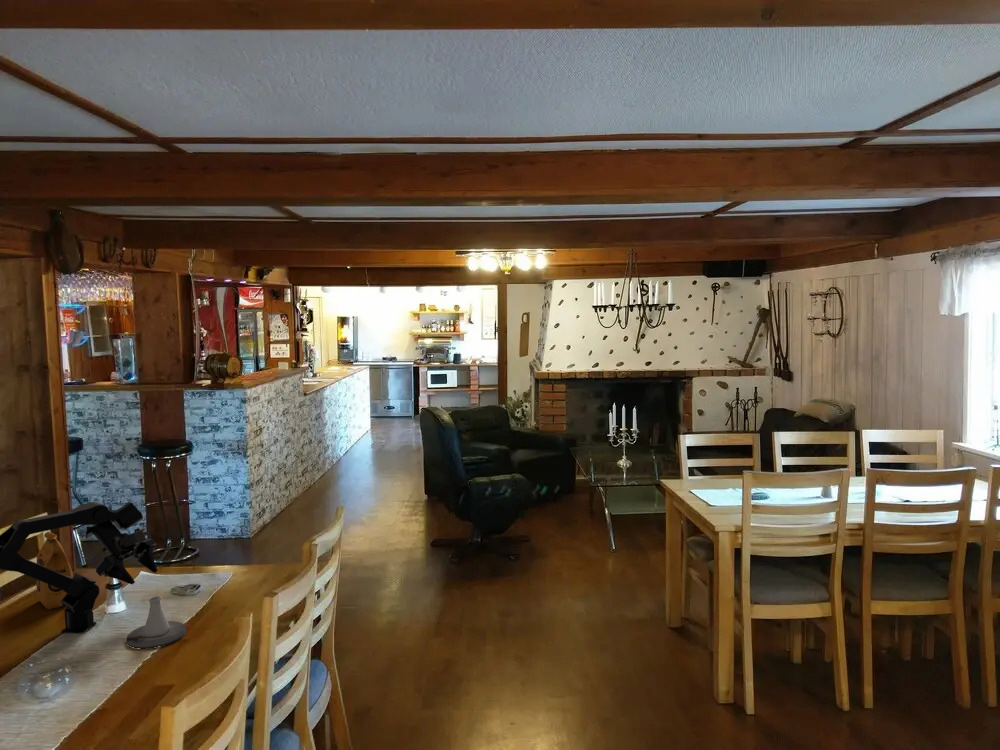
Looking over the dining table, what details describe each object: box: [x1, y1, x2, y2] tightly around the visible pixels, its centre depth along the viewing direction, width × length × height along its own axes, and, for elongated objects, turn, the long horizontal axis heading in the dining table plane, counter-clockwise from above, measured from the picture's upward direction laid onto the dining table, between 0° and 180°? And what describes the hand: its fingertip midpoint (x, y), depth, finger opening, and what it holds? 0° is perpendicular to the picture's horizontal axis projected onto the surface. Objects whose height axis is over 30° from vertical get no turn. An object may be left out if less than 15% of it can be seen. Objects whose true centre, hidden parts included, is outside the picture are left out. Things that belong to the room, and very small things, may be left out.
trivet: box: [126, 620, 187, 650], centre depth 194 cm, size 15×15×1 cm
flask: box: [143, 595, 170, 637], centre depth 194 cm, size 7×7×10 cm
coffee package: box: [35, 530, 74, 610], centre depth 218 cm, size 10×12×22 cm
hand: (145, 577), depth 203 cm, fingers open, 9 cm apart
